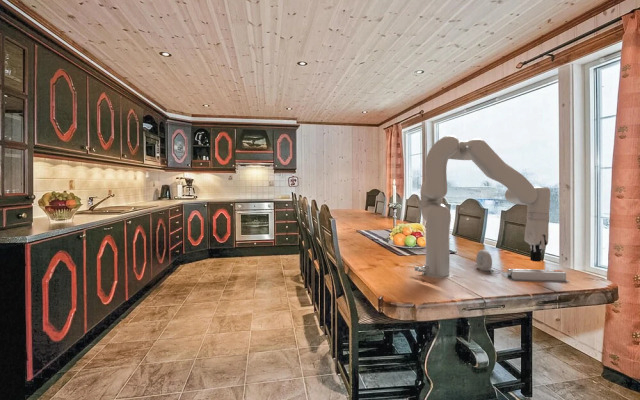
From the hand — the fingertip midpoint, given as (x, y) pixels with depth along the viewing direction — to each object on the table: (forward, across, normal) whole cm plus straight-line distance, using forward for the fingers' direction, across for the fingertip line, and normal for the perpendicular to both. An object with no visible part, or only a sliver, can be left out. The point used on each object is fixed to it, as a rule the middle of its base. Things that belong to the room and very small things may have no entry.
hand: (535, 260), depth 131 cm
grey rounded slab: (+8, -8, -17) cm, 20 cm away
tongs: (+7, +2, -2) cm, 8 cm away
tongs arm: (+6, +4, -2) cm, 7 cm away
